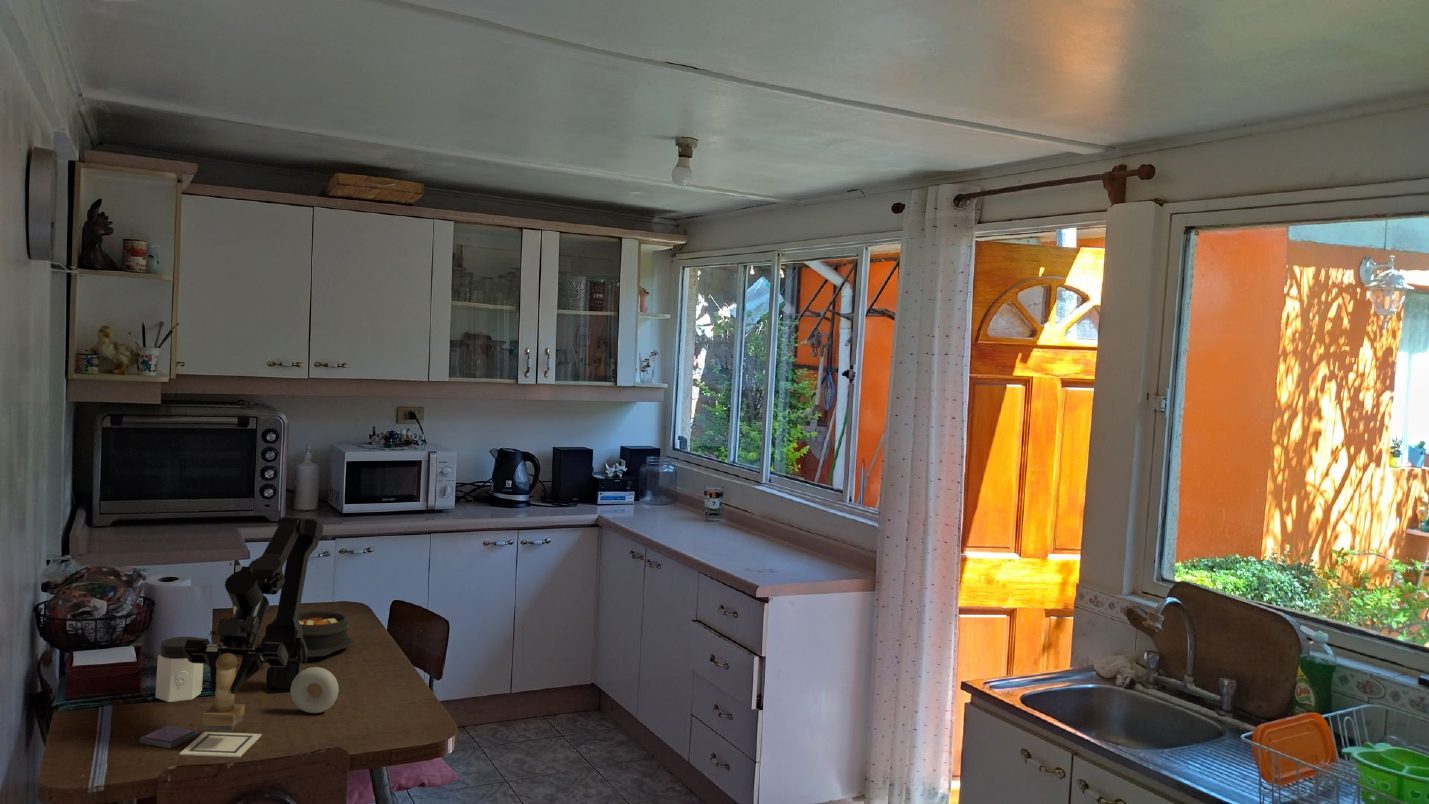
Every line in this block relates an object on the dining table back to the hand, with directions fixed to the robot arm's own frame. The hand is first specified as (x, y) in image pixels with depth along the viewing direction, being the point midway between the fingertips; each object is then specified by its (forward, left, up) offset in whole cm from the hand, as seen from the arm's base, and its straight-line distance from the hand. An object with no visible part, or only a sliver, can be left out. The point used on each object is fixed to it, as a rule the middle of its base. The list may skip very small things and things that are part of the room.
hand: (222, 692), depth 189 cm
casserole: (-22, -62, -11) cm, 67 cm away
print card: (-1, -1, -11) cm, 11 cm away
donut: (-18, -15, -11) cm, 26 cm away
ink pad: (+9, -7, -11) cm, 15 cm away
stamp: (-1, -2, -7) cm, 7 cm away
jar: (+8, -33, -11) cm, 35 cm away
